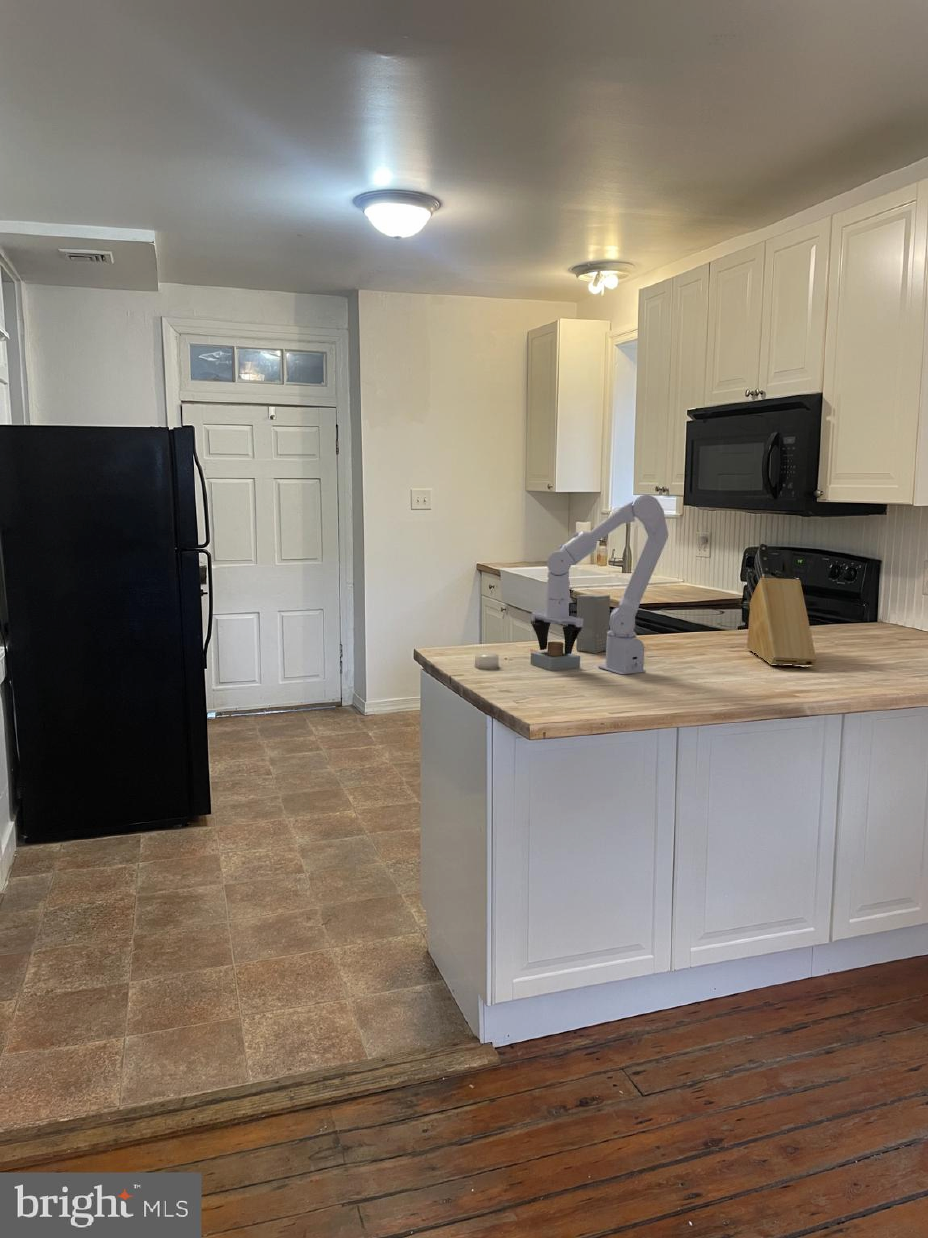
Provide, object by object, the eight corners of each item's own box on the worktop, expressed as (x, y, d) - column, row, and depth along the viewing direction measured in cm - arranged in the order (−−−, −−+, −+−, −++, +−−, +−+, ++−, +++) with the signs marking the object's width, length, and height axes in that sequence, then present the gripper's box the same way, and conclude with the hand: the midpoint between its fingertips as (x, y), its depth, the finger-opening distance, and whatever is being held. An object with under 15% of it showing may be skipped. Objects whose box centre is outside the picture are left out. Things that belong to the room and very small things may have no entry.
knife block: (776, 646, 265) (784, 541, 260) (816, 671, 230) (826, 551, 225) (738, 645, 266) (745, 540, 261) (772, 669, 231) (781, 549, 226)
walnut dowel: (565, 667, 227) (566, 644, 226) (550, 668, 226) (551, 644, 225) (558, 664, 231) (559, 641, 230) (544, 664, 230) (545, 641, 229)
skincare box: (595, 654, 246) (598, 596, 244) (573, 650, 250) (575, 594, 248) (610, 649, 253) (613, 594, 250) (588, 646, 257) (590, 591, 254)
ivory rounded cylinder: (503, 666, 226) (503, 655, 225) (486, 670, 222) (486, 658, 221) (486, 663, 230) (486, 651, 230) (469, 666, 226) (469, 655, 226)
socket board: (579, 667, 227) (580, 656, 227) (550, 670, 223) (551, 658, 222) (558, 661, 235) (559, 649, 234) (530, 664, 230) (530, 652, 230)
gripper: (590, 600, 224) (588, 653, 227) (543, 594, 234) (541, 645, 236) (575, 602, 219) (573, 657, 221) (527, 596, 228) (525, 649, 230)
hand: (555, 651), depth 228 cm, fingers open, 7 cm apart
